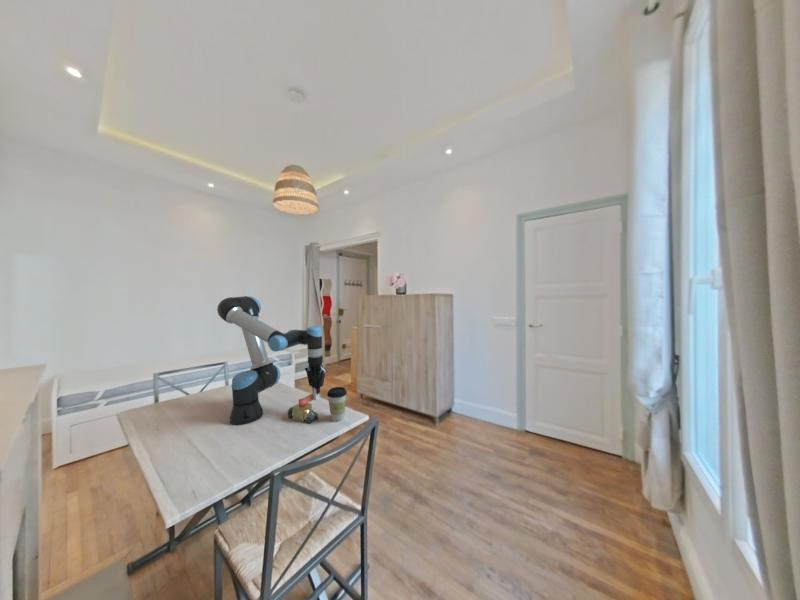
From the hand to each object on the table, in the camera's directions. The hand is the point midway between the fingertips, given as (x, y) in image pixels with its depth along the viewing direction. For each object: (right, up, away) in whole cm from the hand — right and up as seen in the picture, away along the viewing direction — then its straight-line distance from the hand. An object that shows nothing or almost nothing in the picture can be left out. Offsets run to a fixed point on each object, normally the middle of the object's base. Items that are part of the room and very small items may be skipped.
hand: (316, 399), depth 146 cm
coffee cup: (+13, -8, -6) cm, 16 cm away
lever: (-3, -1, 0) cm, 4 cm away
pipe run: (-6, -8, -5) cm, 11 cm away
